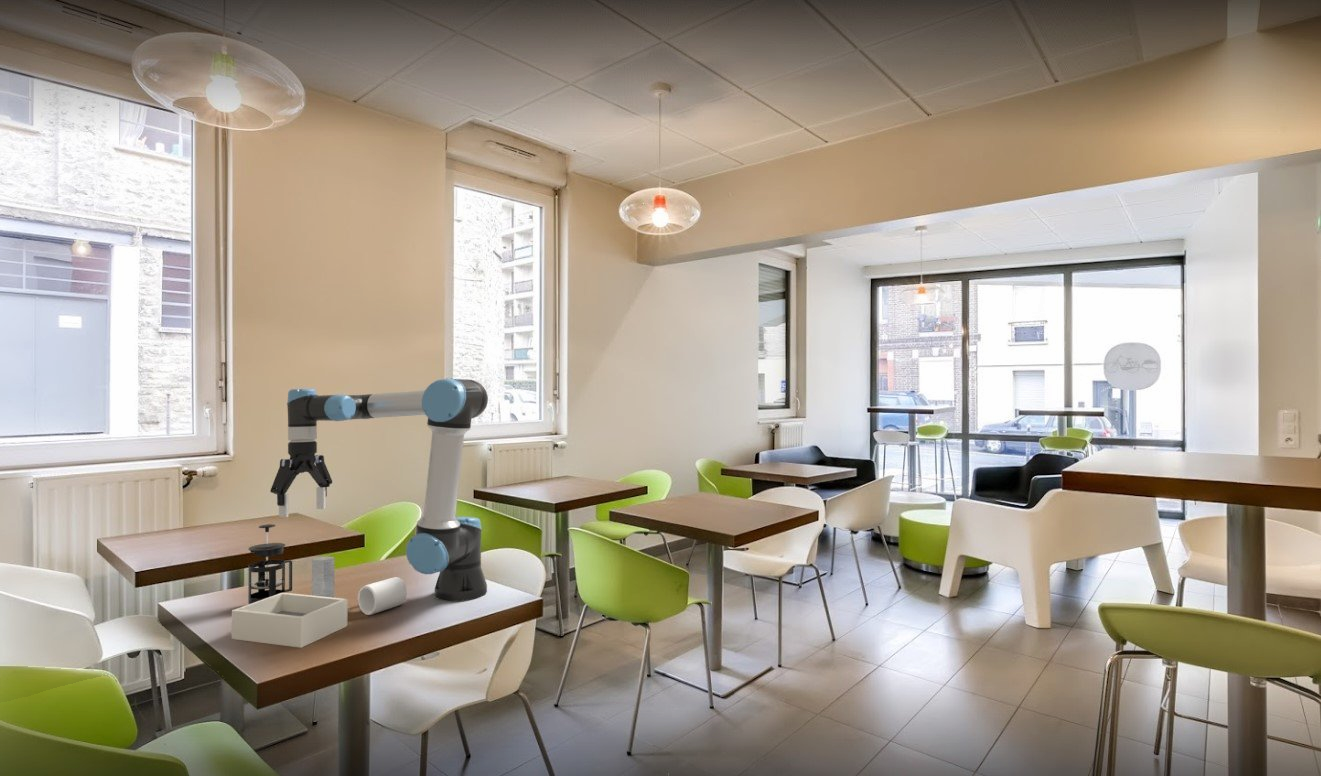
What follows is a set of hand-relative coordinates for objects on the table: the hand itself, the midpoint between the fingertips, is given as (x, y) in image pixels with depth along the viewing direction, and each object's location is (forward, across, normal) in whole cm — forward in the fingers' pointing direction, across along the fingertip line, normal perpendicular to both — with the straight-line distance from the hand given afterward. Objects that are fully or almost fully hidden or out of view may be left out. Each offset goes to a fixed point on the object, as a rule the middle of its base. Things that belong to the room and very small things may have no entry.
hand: (303, 512), depth 193 cm
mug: (+26, +2, +28) cm, 38 cm away
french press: (+25, +8, -4) cm, 27 cm away
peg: (+25, +6, +13) cm, 29 cm away
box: (+25, +23, +20) cm, 40 cm away
